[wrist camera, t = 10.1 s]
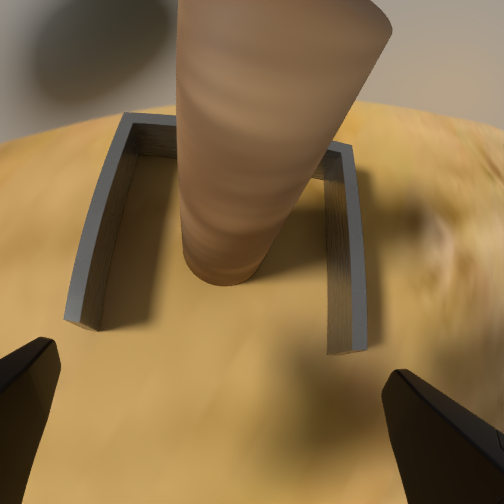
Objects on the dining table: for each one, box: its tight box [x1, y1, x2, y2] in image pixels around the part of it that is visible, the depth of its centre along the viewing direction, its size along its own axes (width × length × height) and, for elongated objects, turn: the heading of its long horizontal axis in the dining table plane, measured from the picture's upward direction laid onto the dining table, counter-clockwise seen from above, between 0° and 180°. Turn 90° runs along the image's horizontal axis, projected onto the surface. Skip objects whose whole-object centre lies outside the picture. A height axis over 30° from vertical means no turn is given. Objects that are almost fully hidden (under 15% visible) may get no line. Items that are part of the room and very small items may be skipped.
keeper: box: [64, 112, 367, 355], centre depth 15 cm, size 12×14×6 cm
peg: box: [176, 0, 392, 286], centre depth 11 cm, size 4×4×14 cm
